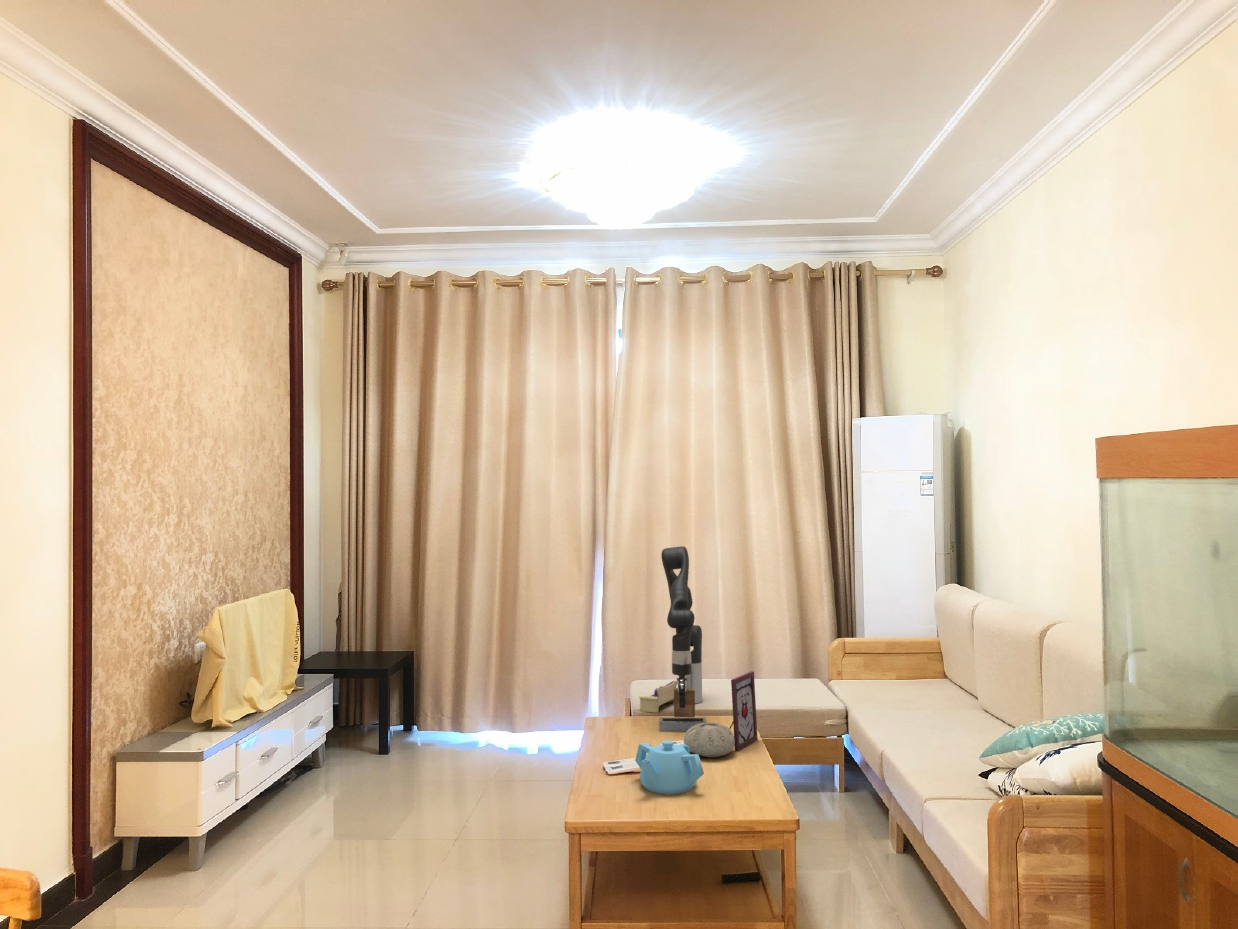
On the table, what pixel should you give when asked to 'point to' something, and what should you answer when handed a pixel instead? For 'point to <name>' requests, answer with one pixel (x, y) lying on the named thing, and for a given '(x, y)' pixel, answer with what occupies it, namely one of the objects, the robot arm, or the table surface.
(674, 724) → the tray
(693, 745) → the decorative shell
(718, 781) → the table surface
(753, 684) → the picture frame
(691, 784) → the teapot
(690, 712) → the door panel
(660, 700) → the toy sofa
